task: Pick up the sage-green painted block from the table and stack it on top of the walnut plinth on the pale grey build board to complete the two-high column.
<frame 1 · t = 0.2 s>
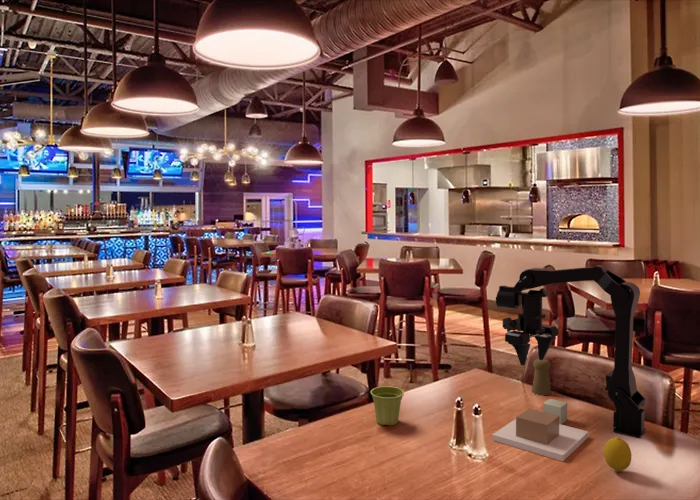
hand: (531, 362, 158), 14 cm above the table, tool pointing down, fingers open, 9 cm apart
cork: (541, 393, 173), on the table
plant pot: (387, 422, 150), on the table
lemon: (617, 472, 120), on the table
build board: (540, 438, 137), on the table
sage block: (554, 420, 150), on the table
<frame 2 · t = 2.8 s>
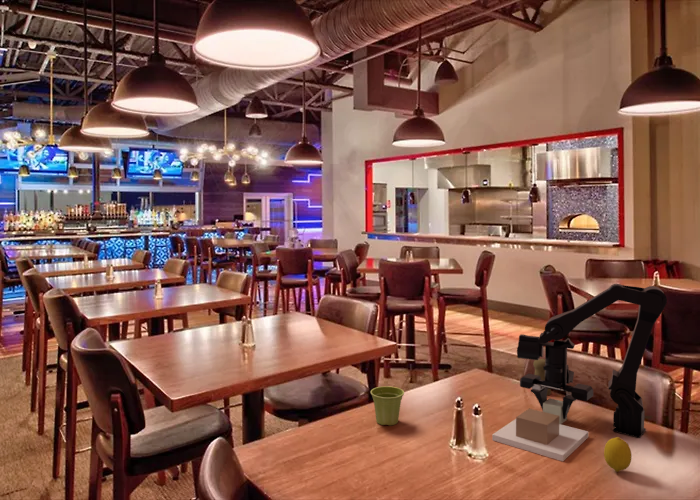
hand: (554, 416, 150), 1 cm above the table, tool pointing down, fingers closed on sage block, 5 cm apart
sage block: (554, 419, 150), on the table, touching gripper
everything else where it was.
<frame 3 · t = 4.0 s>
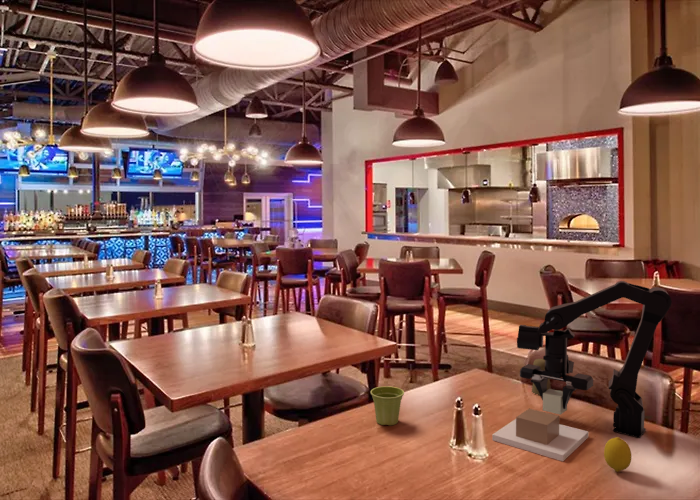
hand: (554, 406, 150), 4 cm above the table, tool pointing down, fingers closed on sage block, 5 cm apart
sage block: (554, 410, 150), point 3 cm above the table, touching gripper
everything else where it was.
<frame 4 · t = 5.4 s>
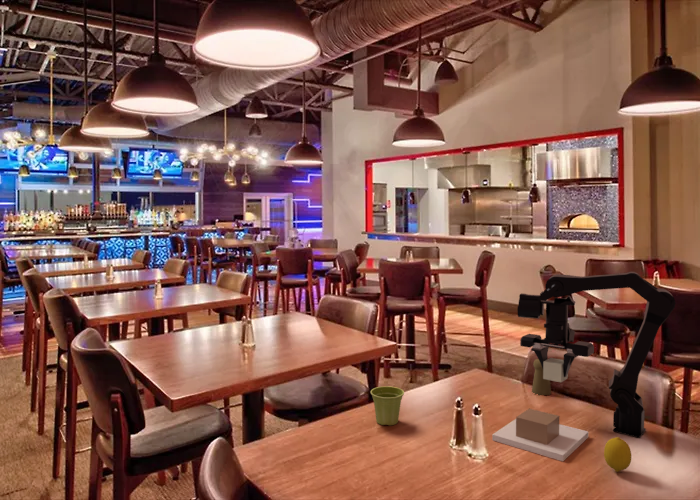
hand: (555, 374, 149), 13 cm above the table, tool pointing down, fingers closed on sage block, 5 cm apart
sage block: (555, 378, 149), point 12 cm above the table, touching gripper
everything else where it was.
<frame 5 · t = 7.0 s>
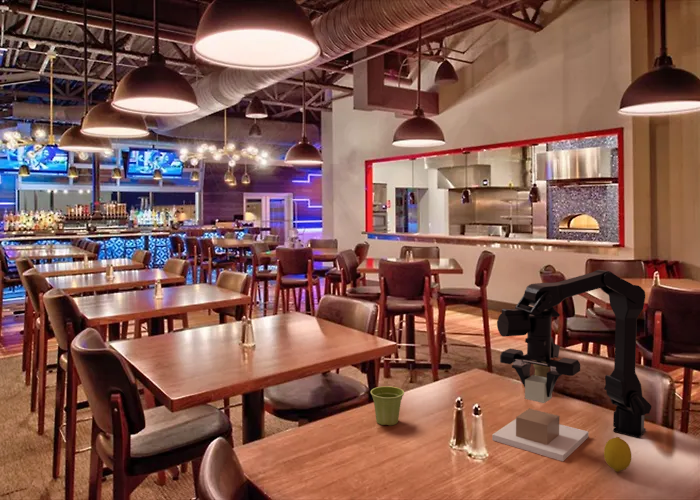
hand: (538, 394, 135), 12 cm above the table, tool pointing down, fingers closed on sage block, 5 cm apart
sage block: (538, 398, 135), point 11 cm above the table, touching gripper
everything else where it was.
when the fingers open (9 cm above the table, at t = 8.3 s): sage block drops 1 cm, resting on build board.
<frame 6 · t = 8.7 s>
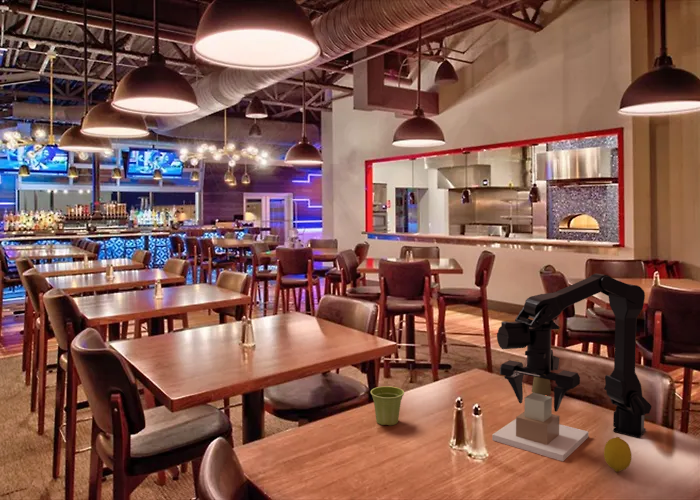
hand: (538, 406, 135), 9 cm above the table, tool pointing down, fingers open, 9 cm apart
sage block: (538, 416, 136), point 6 cm above the table, touching build board
everything else where it was.
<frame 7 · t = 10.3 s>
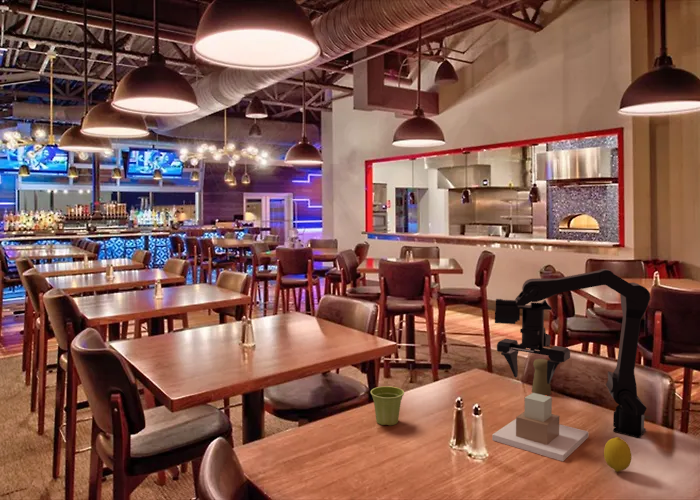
hand: (532, 380, 148), 12 cm above the table, tool pointing down, fingers open, 9 cm apart
nothing on the table moved.
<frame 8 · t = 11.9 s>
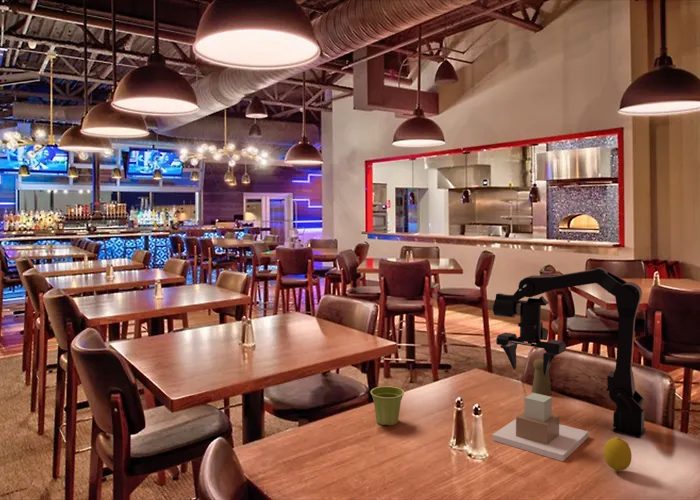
hand: (529, 371, 155), 12 cm above the table, tool pointing down, fingers open, 9 cm apart
nothing on the table moved.
at the end: sage block 0.0 cm from the target spot on the build board, point 6.5 cm above the build board's base; sage block tilted 0°; the gripper is holding nothing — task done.
